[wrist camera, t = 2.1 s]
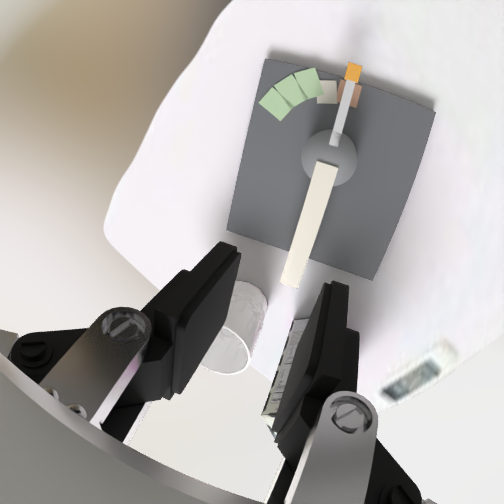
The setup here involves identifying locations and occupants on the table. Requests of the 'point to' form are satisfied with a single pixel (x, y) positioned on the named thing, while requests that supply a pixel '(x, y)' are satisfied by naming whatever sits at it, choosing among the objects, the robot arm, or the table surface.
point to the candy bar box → (283, 372)
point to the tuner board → (342, 196)
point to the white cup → (238, 331)
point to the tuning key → (322, 180)
